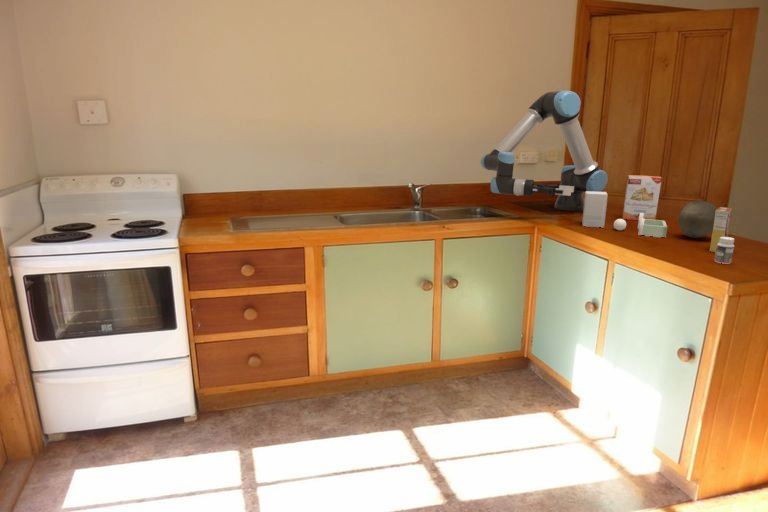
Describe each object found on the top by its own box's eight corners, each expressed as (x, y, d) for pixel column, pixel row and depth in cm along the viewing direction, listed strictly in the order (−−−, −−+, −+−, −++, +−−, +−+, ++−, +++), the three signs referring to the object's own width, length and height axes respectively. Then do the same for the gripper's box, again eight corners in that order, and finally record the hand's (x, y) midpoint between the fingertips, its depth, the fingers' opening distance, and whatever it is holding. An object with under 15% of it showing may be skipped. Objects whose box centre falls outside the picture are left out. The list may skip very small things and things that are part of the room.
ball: (613, 228, 221) (614, 217, 220) (625, 229, 219) (627, 218, 218) (612, 230, 217) (614, 219, 216) (625, 231, 215) (627, 220, 214)
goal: (637, 228, 222) (639, 212, 220) (663, 230, 218) (665, 214, 216) (638, 235, 208) (640, 218, 206) (665, 238, 204) (668, 220, 202)
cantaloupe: (668, 234, 211) (674, 198, 207) (702, 234, 211) (709, 199, 207) (686, 242, 197) (693, 204, 194) (723, 242, 197) (730, 204, 193)
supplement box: (602, 224, 230) (606, 191, 227) (604, 228, 222) (608, 194, 218) (581, 223, 233) (585, 190, 229) (582, 226, 225) (586, 193, 221)
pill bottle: (710, 260, 171) (715, 236, 169) (724, 260, 172) (728, 236, 169) (720, 264, 167) (725, 239, 165) (734, 264, 167) (739, 239, 165)
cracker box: (622, 219, 242) (628, 175, 236) (622, 217, 247) (627, 174, 242) (655, 222, 237) (662, 177, 231) (654, 220, 242) (660, 176, 237)
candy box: (712, 247, 190) (719, 206, 186) (725, 248, 187) (733, 208, 183) (708, 251, 183) (715, 209, 180) (722, 253, 181) (730, 211, 177)
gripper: (528, 192, 248) (573, 196, 240) (518, 198, 226) (568, 202, 218) (529, 177, 246) (575, 180, 238) (520, 181, 224) (570, 185, 216)
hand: (572, 190), depth 228 cm, fingers open, 13 cm apart
